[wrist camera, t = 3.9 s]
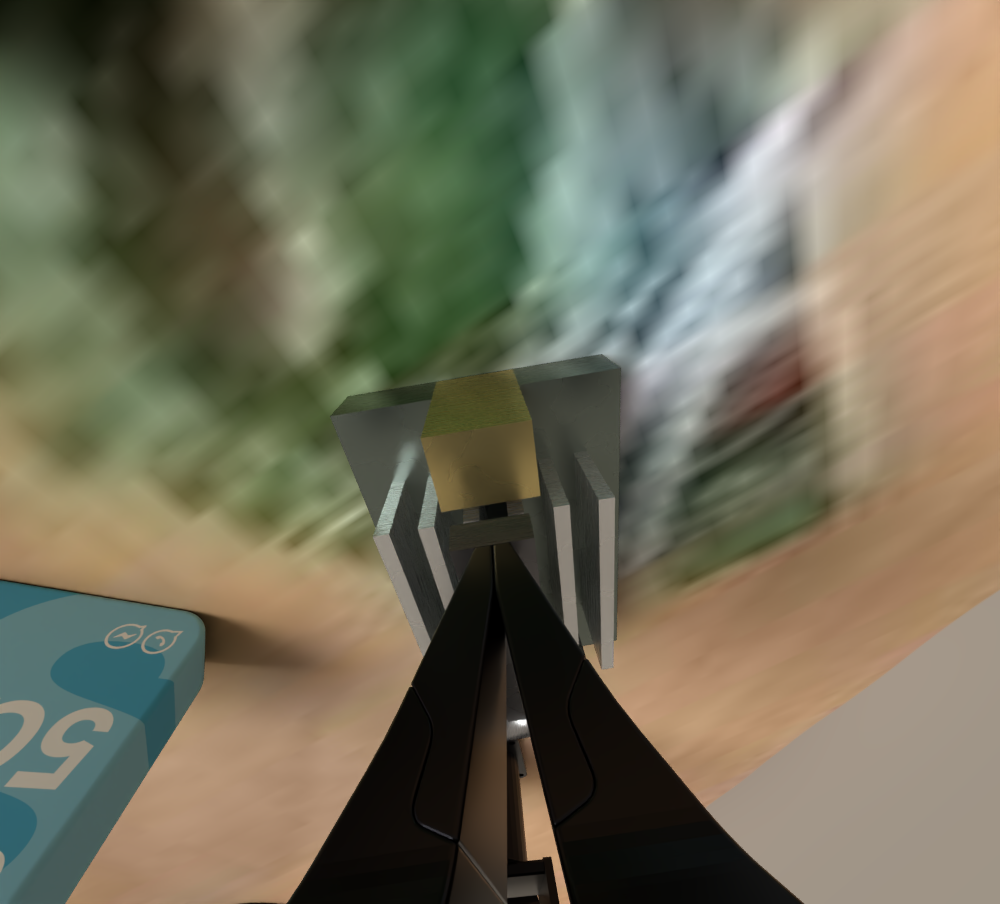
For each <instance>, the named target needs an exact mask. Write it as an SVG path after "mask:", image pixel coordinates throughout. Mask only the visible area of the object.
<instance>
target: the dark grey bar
mask: <svg viewBox="0 0 1000 904" xmlns="http://www.w3.org/2000/svg"><path fill="white" fill-rule="evenodd" d="M508 542H509V543H511V545H512V546H513V548H514V549H515V551H516V552H517V554H518V555H519V557H520V558H521V560H522V561H523V563H524V564H525V566H526V567H527V569H528V570H529V572H530V573H531V575H532V576H533V578H534V579H535V581H536V582H537V584H538V585H539V587H540V579H539V571H538V563H537V555H536V546H535V538H534V533H533V529H532V524H531V519H530V515H529V513H526V514H519V515H513V516H507V517H501V518H495V519H489V520H483V521H477V522H470V523H464V524H458V525H452V526H450V535H449V553H450V556H451V559H452V562H453V565H454V568H455V571H456V573H457V576H458V579H459V580H460V578H461V576H462V574H463V572H464V570H465V568H466V565H467V563H468V561H469V559H470V557H471V555H472V553H473V551H474V549H475V548H477V547H483V546H492V548H493V545H495V544H501V543H508ZM506 724H507V741H509V740H515V739H521V738H528V737H530V734H529V730H528V725H527V721H526V717H525V713H524V709H523V705H522V700H521V696H520V692H519V688H518V684H517V680H516V676H515V671H514V667H513V663H512V659H511V655H510V651H509V646H508V642H507V638H506Z"/></svg>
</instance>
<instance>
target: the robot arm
mask: <svg viewBox="0 0 1000 904" xmlns="http://www.w3.org/2000/svg"><path fill="white" fill-rule="evenodd" d="M506 638H507V642H508V646H509V651H510V655H511V659H512V663H513V667H514V671H515V676H516V680H517V684H518V688H519V692H520V696H521V700H522V705H523V709H524V713H525V717H526V721H527V725H528V730H529V734H530V738H531V742H532V746H533V750H534V754H535V759H536V763H537V767H538V771H539V775H540V779H541V784H542V788H543V792H544V796H545V800H546V804H547V808H548V813H549V817H550V821H551V825H552V829H553V833H554V838H555V842H556V846H557V850H558V854H559V858H560V863H561V867H562V871H563V875H564V879H565V883H566V887H567V892H568V896H569V900H570V904H804V903H803V902H802V901H801V900H799V899H798V898H797V897H796V896H795V895H794V894H793V893H791V892H790V891H789V890H788V889H787V888H786V887H784V886H783V885H782V884H781V883H780V882H779V881H778V880H776V879H775V878H774V877H773V876H772V875H771V874H769V873H768V872H767V871H766V870H765V869H764V868H763V867H762V866H760V865H759V864H758V863H757V862H756V861H755V860H753V858H752V857H750V856H749V855H748V854H747V853H746V852H745V851H744V850H743V849H742V848H741V847H740V846H739V845H738V844H737V842H736V841H734V840H733V838H732V837H731V836H730V835H729V834H728V833H727V832H726V831H725V830H724V829H723V828H722V827H721V826H720V825H719V823H718V822H717V821H716V820H715V819H714V818H713V817H712V815H711V814H710V813H709V812H708V811H707V810H706V809H705V807H704V806H703V805H702V804H701V803H700V802H699V800H698V799H697V798H696V797H695V796H694V794H693V793H692V792H691V791H690V790H689V788H688V787H687V786H686V785H685V784H684V782H683V781H682V780H681V779H680V778H679V776H678V775H677V774H676V773H675V772H674V770H673V769H672V768H671V767H670V766H669V764H668V763H667V762H666V761H665V760H664V759H663V757H662V756H661V755H660V754H659V753H658V751H657V750H656V749H655V748H654V747H653V745H652V744H651V743H650V742H649V741H648V739H647V738H646V737H645V736H644V735H643V733H642V732H641V731H640V730H639V729H638V727H637V726H636V725H635V723H634V722H633V721H632V720H631V718H630V717H629V716H628V715H627V713H626V712H625V711H624V710H623V708H622V707H621V706H620V704H619V703H618V702H617V701H616V699H615V698H614V696H613V695H612V693H611V692H610V691H609V689H608V688H607V686H606V685H605V684H604V682H603V681H602V679H601V678H600V677H599V675H598V674H597V672H596V671H595V669H594V668H593V666H592V665H591V663H590V662H589V660H588V659H586V656H585V654H584V653H583V651H582V650H581V648H580V647H579V645H578V644H577V642H576V641H575V639H574V638H573V636H572V635H571V633H570V632H569V630H568V629H567V627H566V626H565V624H564V623H563V621H562V620H561V618H560V617H559V615H558V614H557V612H556V611H555V609H554V608H553V606H552V605H551V603H550V602H549V600H548V599H547V597H546V596H545V594H544V593H543V591H542V590H541V588H540V587H539V585H538V584H537V582H536V581H535V579H534V578H533V576H532V575H531V573H530V572H529V570H528V569H527V567H526V566H525V564H524V563H523V561H522V560H521V558H520V557H519V555H518V554H517V552H516V551H515V549H514V548H513V546H512V545H511V543H509V542H508V543H501V544H495V545H493V548H492V546H483V547H477V548H475V549H474V551H473V553H472V555H471V557H470V559H469V561H468V563H467V565H466V568H465V570H464V572H463V574H462V576H461V578H460V580H459V582H458V585H457V587H456V589H455V591H454V593H453V595H452V597H451V600H450V602H449V604H448V606H447V608H446V610H445V612H444V614H443V617H442V619H441V621H440V623H439V625H438V627H437V629H436V632H435V634H434V636H433V638H432V640H431V642H430V644H429V646H428V649H427V651H426V653H425V655H424V657H423V659H422V661H421V664H420V666H419V668H418V670H417V672H416V674H415V676H414V678H413V681H412V683H411V685H412V687H409V689H408V691H407V693H406V695H405V697H404V699H403V702H402V704H401V706H400V708H399V710H398V712H397V714H396V716H395V718H394V720H393V722H392V724H391V726H390V728H389V730H388V732H387V734H386V736H385V738H384V740H383V742H382V743H381V745H380V747H379V749H378V751H377V752H376V754H375V756H374V758H373V760H372V761H371V763H370V765H369V767H368V769H367V770H366V772H365V774H364V776H363V777H362V779H361V781H360V782H359V784H358V786H357V788H356V789H355V791H354V793H353V794H352V796H351V798H350V800H349V801H348V803H347V805H346V806H345V808H344V810H343V812H342V813H341V815H340V817H339V818H338V820H337V822H336V824H335V825H334V827H333V829H332V830H331V832H330V834H329V836H328V837H327V839H326V841H325V842H324V844H323V846H322V848H321V849H320V851H319V853H318V854H317V856H316V858H315V860H314V861H313V863H312V865H311V866H310V868H309V870H308V871H307V873H306V875H305V876H304V878H303V880H302V881H301V883H300V884H299V886H298V887H297V889H296V890H295V892H294V894H293V895H292V897H291V898H290V900H289V901H288V902H287V904H559V899H558V893H557V887H556V882H555V876H554V870H553V864H552V859H551V857H543V859H542V860H532V861H527V852H526V842H525V831H524V820H523V809H522V799H521V788H520V778H523V777H525V776H526V775H527V772H526V766H525V762H524V758H523V754H522V750H521V746H520V742H519V739H515V740H509V741H507V724H506ZM537 895H538V897H539V900H538V897H537Z"/></svg>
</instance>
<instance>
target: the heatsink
mask: <svg viewBox="0 0 1000 904" xmlns="http://www.w3.org/2000/svg"><path fill="white" fill-rule="evenodd" d="M620 387H621V368H620V367H619V366H617V365H616V364H614V363H613V362H612V361H610V360H609V359H608V358H606V357H605V356H603V355H602V354H601V355H595V356H589V357H583V358H577V359H571V360H565V361H559V362H553V363H547V364H541V365H535V366H529V367H523V368H517V369H511V370H505V371H499V372H493V373H487V374H481V375H475V376H469V377H463V378H457V379H451V380H445V381H439V382H433V383H427V384H421V385H415V386H409V387H403V388H397V389H391V390H385V391H379V392H373V393H367V394H361V395H355V396H349V397H347V398H346V399H345V400H344V402H343V403H342V404H341V405H340V406H339V407H338V408H337V409H336V410H335V412H334V413H333V414H332V415H331V416H330V417H331V420H332V422H333V425H334V427H335V430H336V432H337V434H338V437H339V439H340V442H341V444H342V447H343V449H344V452H345V454H346V456H347V459H348V461H349V464H350V466H351V469H352V471H353V474H354V476H355V478H356V481H357V483H358V486H359V488H360V491H361V493H362V496H363V498H364V500H365V503H366V505H367V508H368V510H369V513H370V515H371V518H372V520H373V522H374V525H375V527H376V529H375V532H374V535H373V538H374V541H375V543H376V545H377V548H378V550H379V553H380V555H381V557H382V560H383V562H384V564H385V567H386V569H387V572H388V574H389V576H390V579H391V581H392V584H393V586H394V588H395V591H396V593H397V595H398V598H399V600H400V603H401V605H402V607H403V610H404V612H405V614H406V617H407V619H408V622H409V624H410V626H411V629H412V631H413V633H414V636H415V638H416V641H417V643H418V645H419V648H420V650H421V652H422V655H423V657H424V655H425V653H426V651H427V649H428V646H429V644H430V642H431V640H432V638H433V636H434V634H435V632H436V629H437V627H438V625H439V623H440V621H441V619H442V617H443V614H444V612H445V610H446V608H447V606H448V604H449V602H450V600H451V597H452V595H453V593H454V591H455V589H456V587H457V585H458V582H459V579H458V576H457V573H456V571H455V568H454V565H453V562H452V559H451V556H450V553H449V535H450V526H452V525H458V524H464V523H470V522H477V521H483V520H489V519H495V518H501V517H507V516H513V515H519V514H526V513H529V515H530V519H531V524H532V529H533V533H534V538H535V546H536V555H537V563H538V571H539V579H540V588H541V590H542V591H543V593H544V594H545V596H546V597H547V599H548V600H549V602H550V603H551V605H552V606H553V608H554V609H555V611H556V612H557V614H558V615H559V617H560V618H561V620H562V621H563V623H564V624H565V626H566V627H567V629H568V630H569V632H570V633H571V635H572V636H573V638H574V639H575V641H576V642H577V644H578V645H579V647H580V648H581V650H582V651H583V653H584V650H583V646H585V645H591V644H594V647H595V650H596V653H597V656H598V659H599V663H600V666H601V669H609V668H613V654H614V641H616V640H617V579H618V515H619V451H620ZM584 654H585V653H584Z"/></svg>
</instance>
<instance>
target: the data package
mask: <svg viewBox="0 0 1000 904" xmlns="http://www.w3.org/2000/svg"><path fill="white" fill-rule="evenodd" d="M204 662H205V626H204V623H203V621H202V620H201V619H200V618H199V617H198V616H197V615H195V614H193V613H191V612H188V611H183V610H177V609H171V608H165V607H159V606H153V605H147V604H141V603H135V602H129V601H123V600H116V599H110V598H104V597H98V596H92V595H86V594H80V593H74V592H68V591H62V590H56V589H50V588H44V587H38V586H32V585H26V584H20V583H14V582H8V581H1V580H0V904H65V903H66V901H67V900H68V898H69V897H70V895H71V893H72V892H73V890H74V889H75V887H76V886H77V884H78V882H79V881H80V879H81V878H82V876H83V874H84V873H85V871H86V870H87V868H88V867H89V865H90V863H91V862H92V860H93V859H94V857H95V855H96V854H97V852H98V851H99V849H100V847H101V846H102V844H103V843H104V841H105V840H106V838H107V836H108V835H109V833H110V832H111V830H112V828H113V827H114V825H115V824H116V822H117V821H118V819H119V817H120V816H121V814H122V813H123V811H124V809H125V808H126V806H127V805H128V803H129V802H130V800H131V798H132V797H133V795H134V794H135V792H136V790H137V789H138V787H139V786H140V784H141V782H142V781H143V779H144V778H145V776H146V775H147V773H148V771H149V770H150V768H151V767H152V765H153V763H154V762H155V760H156V759H157V757H158V756H159V754H160V752H161V751H162V749H163V748H164V746H165V744H166V743H167V741H168V740H169V738H170V737H171V735H172V733H173V732H174V730H175V729H176V727H177V725H178V724H179V722H180V721H181V719H182V717H183V716H184V714H185V713H186V711H187V710H188V708H189V706H190V705H191V703H192V702H193V700H194V698H195V697H196V695H197V694H198V692H199V690H200V688H201V686H202V684H203V680H204Z"/></svg>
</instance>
